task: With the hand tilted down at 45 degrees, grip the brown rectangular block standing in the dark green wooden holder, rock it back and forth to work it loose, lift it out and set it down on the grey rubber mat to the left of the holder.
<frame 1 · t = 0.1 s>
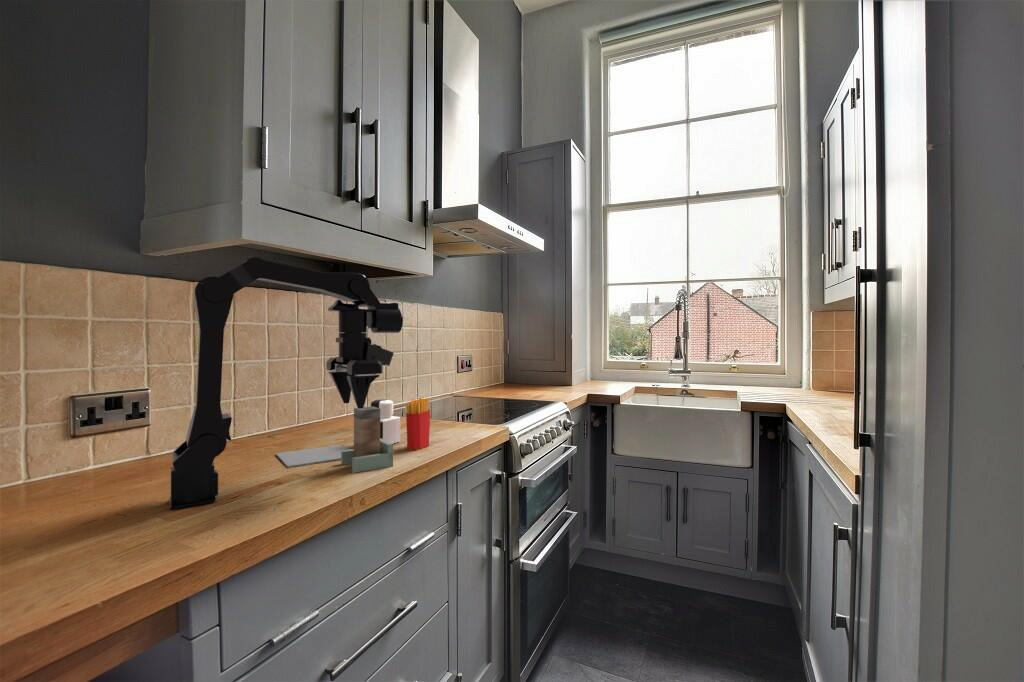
hand: (353, 405, 98), 15 cm above the countertop, tool pointing down, fingers open, 9 cm apart
holder: (366, 464, 105), on the countertop
brown rectangular block: (366, 465, 105), resting in holder
medicine bottle: (382, 444, 127), on the countertop
french fries: (417, 448, 123), on the countertop
mat: (317, 456, 113), on the countertop
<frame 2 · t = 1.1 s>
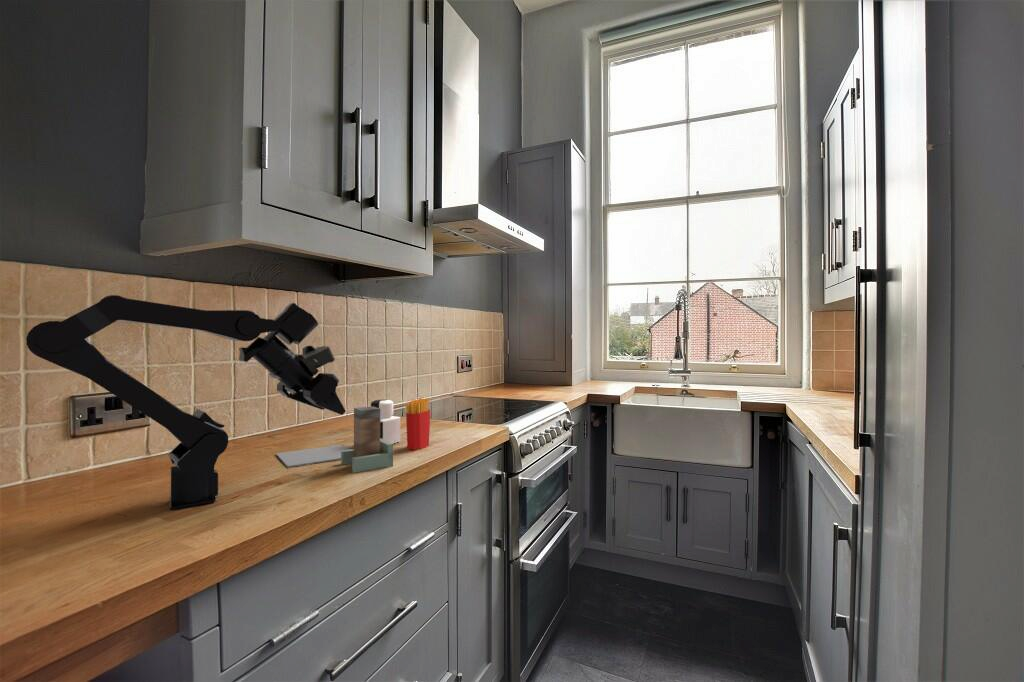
hand: (333, 410, 99), 13 cm above the countertop, tool tilted 45°, fingers open, 9 cm apart
nothing on the countertop moved.
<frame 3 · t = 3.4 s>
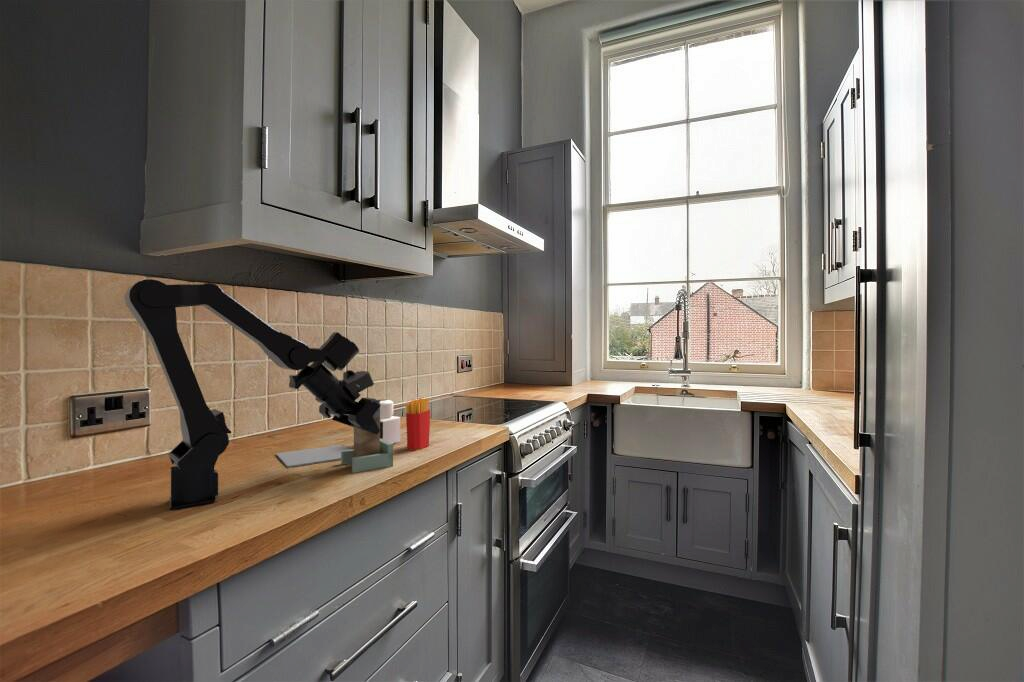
hand: (372, 430, 106), 8 cm above the countertop, tool tilted 45°, fingers closed on brown rectangular block, 5 cm apart
brown rectangular block: (366, 464, 105), resting in holder, touching gripper
everything else where it was.
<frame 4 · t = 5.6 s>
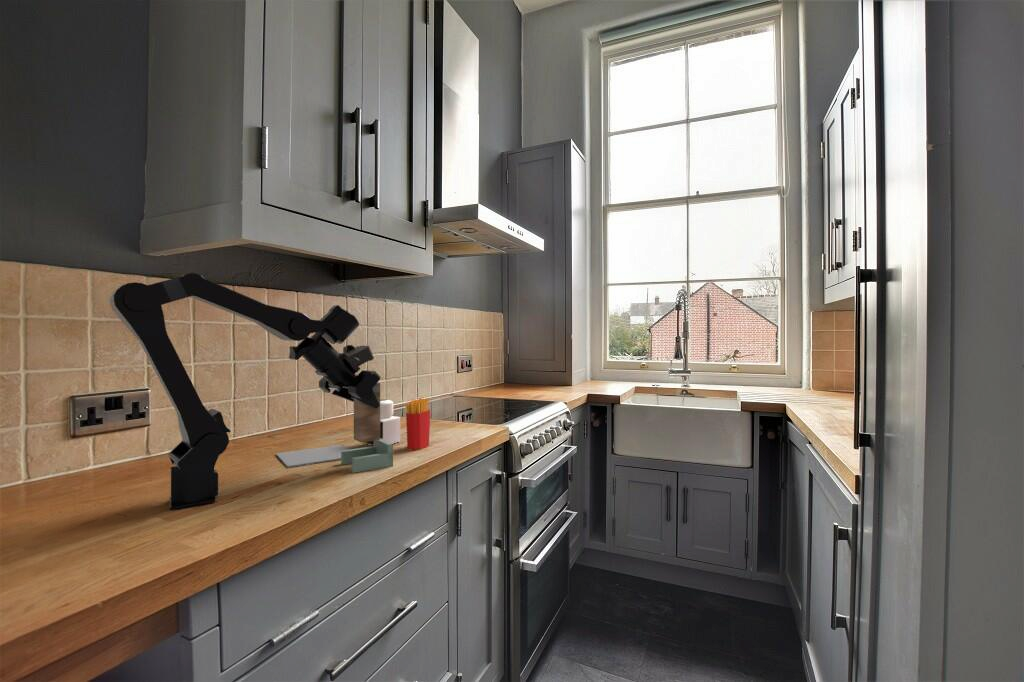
hand: (372, 405, 106), 13 cm above the countertop, tool tilted 45°, fingers closed on brown rectangular block, 5 cm apart
brown rectangular block: (366, 439, 105), point 6 cm above the countertop, touching gripper
everything else where it was.
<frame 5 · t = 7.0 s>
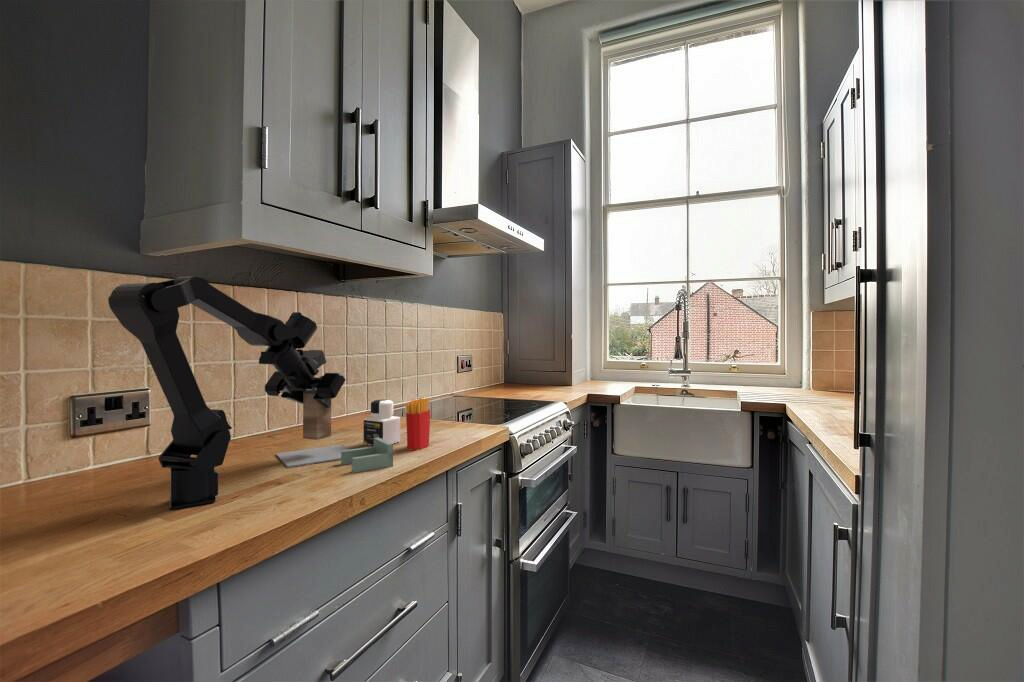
hand: (321, 405, 114), 12 cm above the countertop, tool tilted 45°, fingers closed on brown rectangular block, 5 cm apart
brown rectangular block: (317, 437, 113), point 5 cm above the countertop, touching gripper
everything else where it was.
when the fingers open (8 cm above the countertop, at t = 7.9 s): brown rectangular block stays where it is, resting on mat.
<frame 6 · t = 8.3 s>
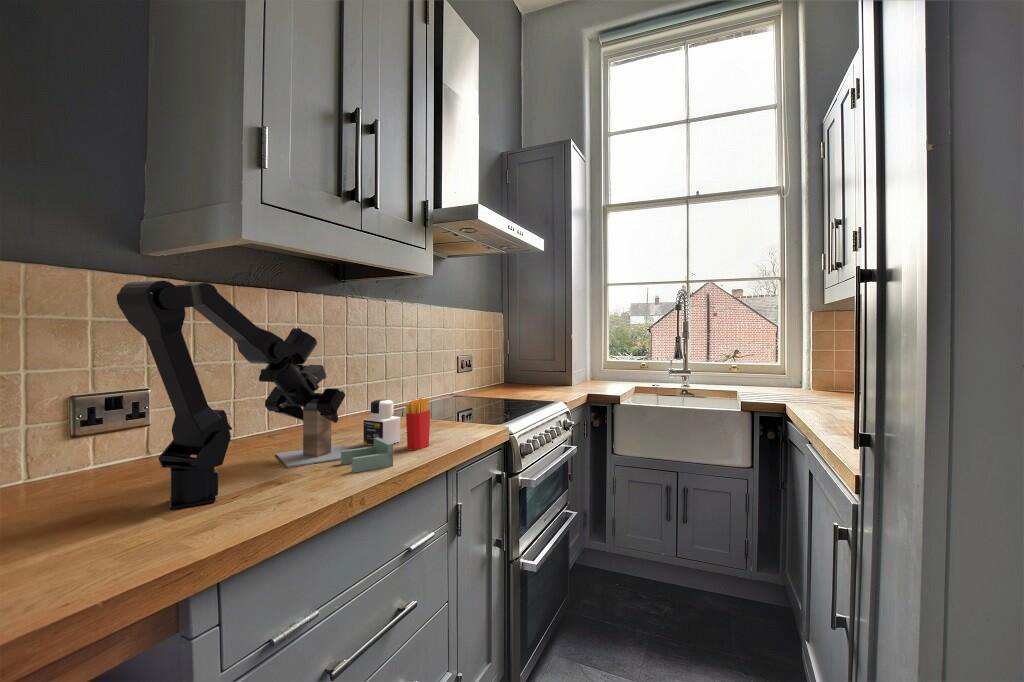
hand: (321, 420, 114), 9 cm above the countertop, tool tilted 45°, fingers open, 9 cm apart
brown rectangular block: (317, 454, 113), resting on mat
everything else where it was.
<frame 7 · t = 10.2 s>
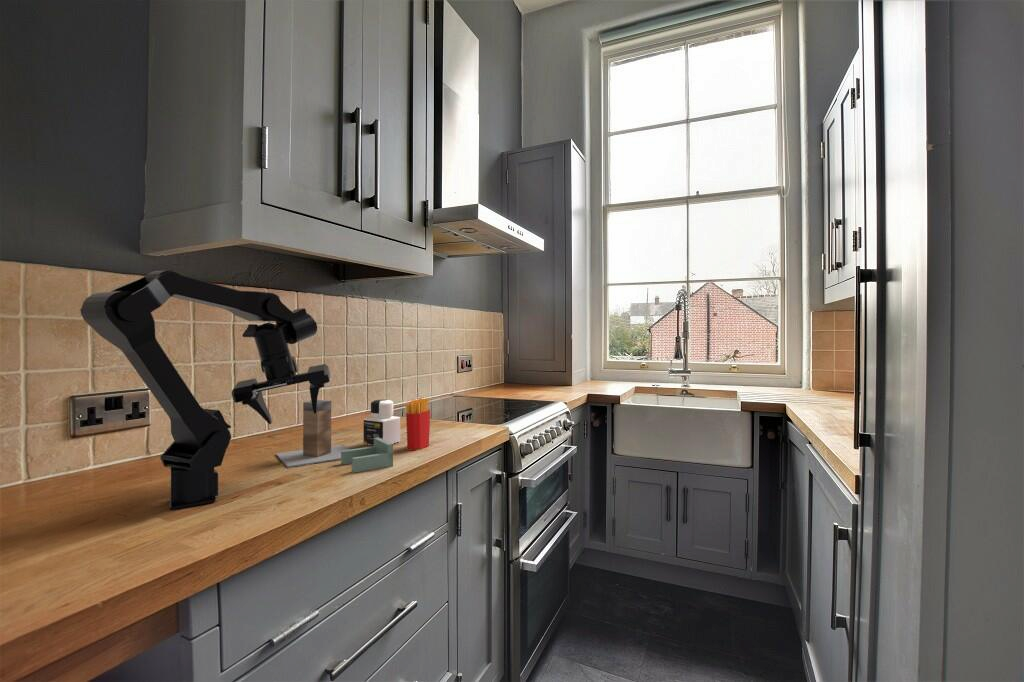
hand: (293, 418, 101), 11 cm above the countertop, tool tilted 20°, fingers open, 9 cm apart
nothing on the countertop moved.
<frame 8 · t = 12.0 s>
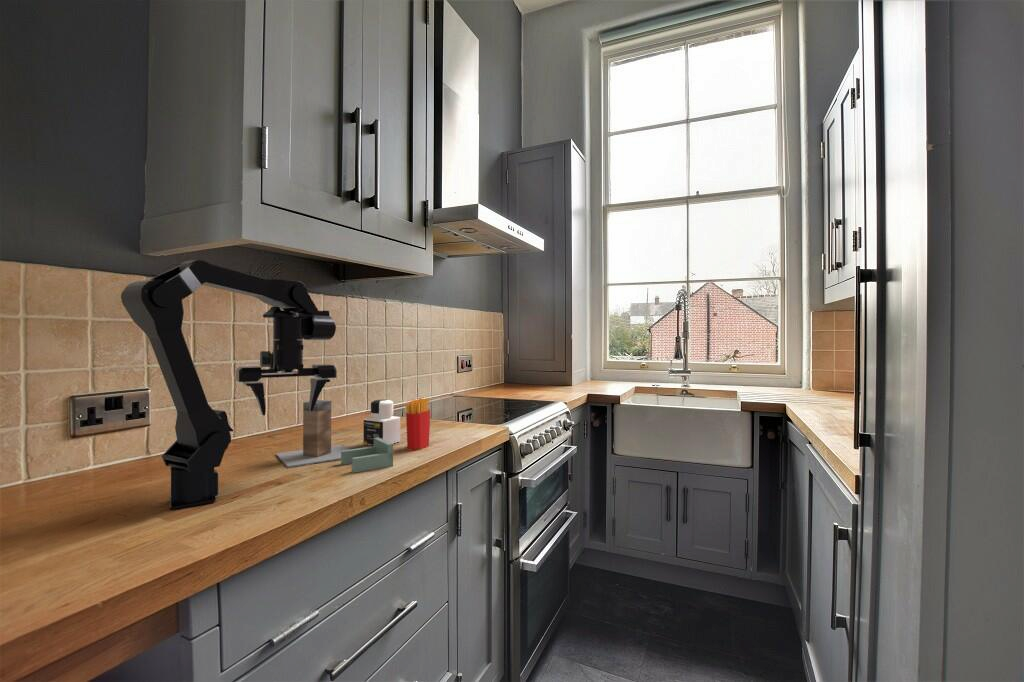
hand: (287, 413, 98), 13 cm above the countertop, tool pointing down, fingers open, 9 cm apart
nothing on the countertop moved.
at the end: brown rectangular block inside the target area (0.1 cm from its centre), resting on mat; brown rectangular block tilted 0°; the gripper is holding nothing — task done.
